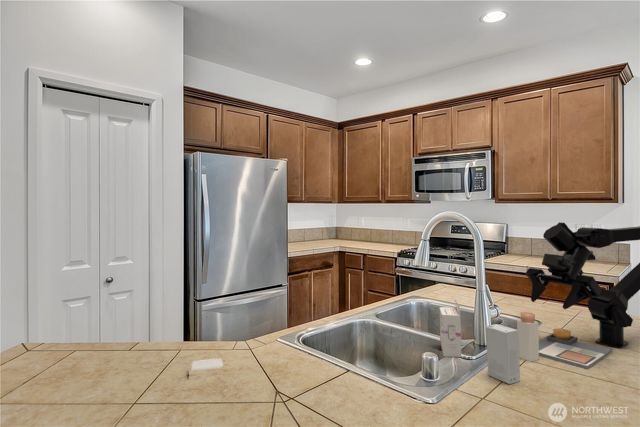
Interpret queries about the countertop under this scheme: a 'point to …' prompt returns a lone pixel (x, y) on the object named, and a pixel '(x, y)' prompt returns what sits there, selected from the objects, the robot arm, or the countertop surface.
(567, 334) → the button
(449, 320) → the ink cartridge box
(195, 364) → the soap
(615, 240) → the robot arm
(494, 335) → the skincare box
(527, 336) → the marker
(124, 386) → the countertop surface
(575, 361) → the grey flat board
